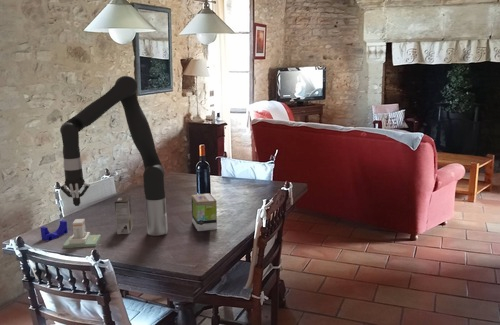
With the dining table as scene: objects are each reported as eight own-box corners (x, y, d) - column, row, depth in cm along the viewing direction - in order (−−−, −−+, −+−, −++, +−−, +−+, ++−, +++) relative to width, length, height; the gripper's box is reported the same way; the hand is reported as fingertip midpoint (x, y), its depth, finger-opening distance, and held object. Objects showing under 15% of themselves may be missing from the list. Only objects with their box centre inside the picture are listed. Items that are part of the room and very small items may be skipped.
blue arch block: (47, 241, 225) (46, 228, 223) (41, 239, 227) (40, 227, 226) (69, 233, 235) (68, 221, 233) (63, 231, 237) (62, 220, 236)
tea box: (217, 229, 236) (216, 200, 233) (197, 231, 234) (196, 202, 231) (211, 220, 251) (210, 192, 248) (191, 222, 248) (190, 194, 245)
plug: (86, 237, 225) (84, 218, 223) (83, 242, 219) (81, 222, 217) (77, 237, 224) (75, 219, 222) (73, 242, 218) (72, 223, 217)
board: (100, 236, 229) (100, 230, 228) (95, 246, 217) (95, 239, 216) (70, 238, 227) (69, 231, 227) (63, 248, 216) (62, 241, 215)
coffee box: (119, 228, 241) (117, 196, 237) (132, 227, 241) (130, 196, 238) (116, 234, 232) (114, 201, 228) (130, 233, 232) (128, 201, 229)
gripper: (90, 165, 219) (94, 202, 223) (59, 166, 218) (64, 204, 221) (86, 168, 212) (90, 207, 215) (55, 170, 210) (59, 208, 214)
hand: (77, 205), depth 218 cm, fingers closed
